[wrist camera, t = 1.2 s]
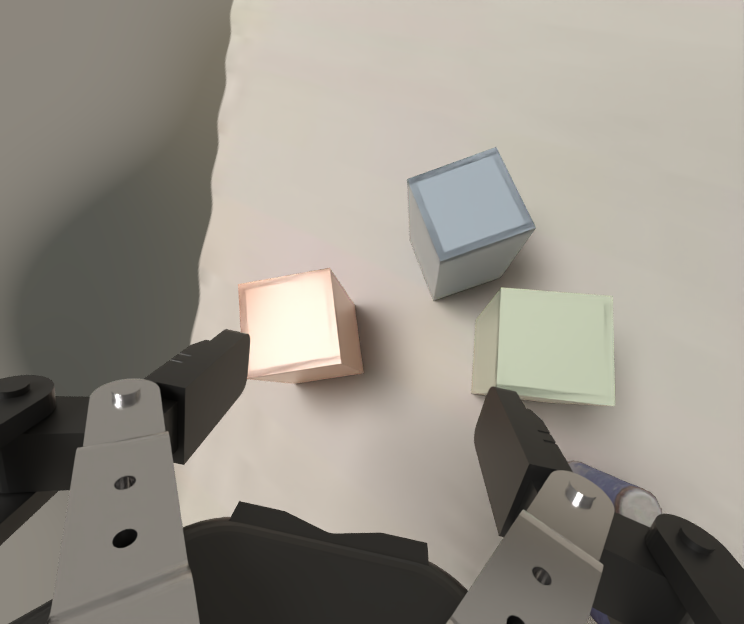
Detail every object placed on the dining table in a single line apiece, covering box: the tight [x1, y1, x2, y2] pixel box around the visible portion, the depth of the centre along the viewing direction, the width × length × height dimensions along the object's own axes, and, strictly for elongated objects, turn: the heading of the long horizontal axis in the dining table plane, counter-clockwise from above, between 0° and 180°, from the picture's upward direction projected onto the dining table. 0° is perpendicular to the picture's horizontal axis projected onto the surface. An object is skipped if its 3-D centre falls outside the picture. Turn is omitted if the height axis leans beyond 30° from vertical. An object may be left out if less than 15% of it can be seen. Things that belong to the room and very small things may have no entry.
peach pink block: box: [238, 268, 364, 384], centre depth 28 cm, size 6×6×10 cm
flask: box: [568, 461, 662, 624], centre depth 23 cm, size 9×3×11 cm, turn 174°
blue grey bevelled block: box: [407, 147, 536, 301], centre depth 29 cm, size 6×6×10 cm
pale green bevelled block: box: [471, 287, 615, 406], centre depth 26 cm, size 6×6×10 cm
